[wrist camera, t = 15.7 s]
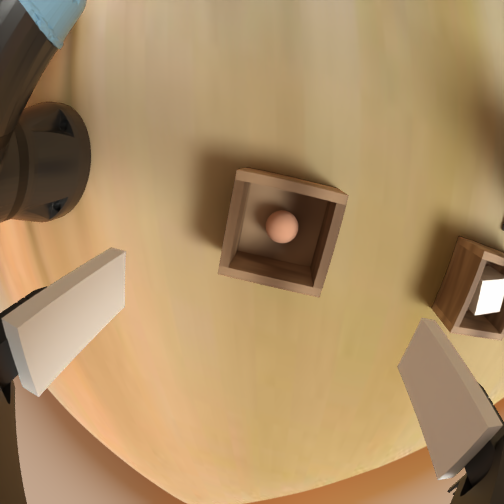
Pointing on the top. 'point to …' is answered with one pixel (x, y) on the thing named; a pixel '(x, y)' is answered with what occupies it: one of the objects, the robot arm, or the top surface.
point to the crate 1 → (281, 254)
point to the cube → (488, 293)
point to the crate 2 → (469, 291)
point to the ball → (282, 226)
